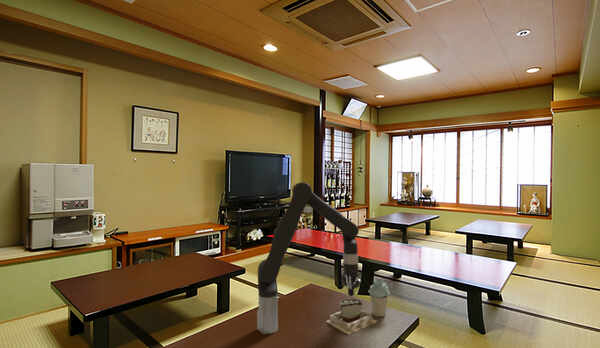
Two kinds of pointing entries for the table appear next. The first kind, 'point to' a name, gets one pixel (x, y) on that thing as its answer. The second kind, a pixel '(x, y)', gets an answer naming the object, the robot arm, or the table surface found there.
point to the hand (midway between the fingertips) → (351, 295)
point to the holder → (351, 327)
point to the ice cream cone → (379, 297)
